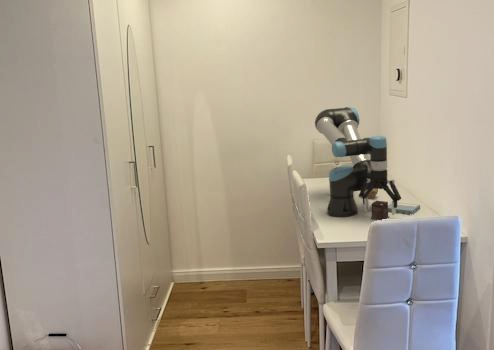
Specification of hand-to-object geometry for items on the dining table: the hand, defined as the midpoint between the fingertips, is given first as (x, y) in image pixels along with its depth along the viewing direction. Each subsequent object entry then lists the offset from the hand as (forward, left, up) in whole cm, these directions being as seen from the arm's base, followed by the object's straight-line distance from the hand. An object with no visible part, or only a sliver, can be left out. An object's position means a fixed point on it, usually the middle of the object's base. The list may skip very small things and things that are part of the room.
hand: (379, 212), depth 233 cm
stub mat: (0, 0, -3) cm, 3 cm away
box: (0, 0, -2) cm, 3 cm away
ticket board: (+4, +16, -3) cm, 17 cm away
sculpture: (-20, +33, -3) cm, 38 cm away
